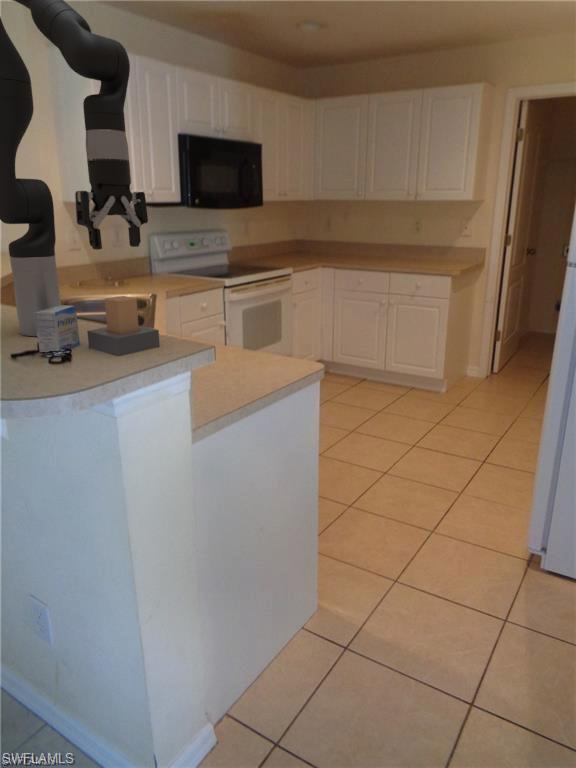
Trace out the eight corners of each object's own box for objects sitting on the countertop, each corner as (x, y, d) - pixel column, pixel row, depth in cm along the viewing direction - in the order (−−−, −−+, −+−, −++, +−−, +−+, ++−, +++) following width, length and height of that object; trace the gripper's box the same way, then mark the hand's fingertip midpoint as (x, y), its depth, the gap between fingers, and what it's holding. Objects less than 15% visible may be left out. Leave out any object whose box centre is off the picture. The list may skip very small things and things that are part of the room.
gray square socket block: (89, 349, 115) (87, 330, 114) (130, 341, 123) (128, 323, 121) (118, 358, 109) (116, 338, 108) (159, 348, 117) (158, 329, 115)
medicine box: (60, 356, 110) (54, 312, 108) (39, 355, 111) (33, 311, 108) (80, 346, 118) (76, 305, 115) (61, 345, 119) (56, 304, 116)
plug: (108, 347, 115) (104, 298, 112) (126, 343, 119) (123, 295, 116) (121, 350, 113) (117, 301, 110) (139, 346, 116) (136, 298, 113)
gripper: (128, 161, 112) (134, 245, 117) (61, 157, 101) (72, 249, 106) (152, 159, 107) (158, 246, 112) (85, 154, 97) (95, 251, 102)
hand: (116, 247), depth 109 cm, fingers open, 8 cm apart
